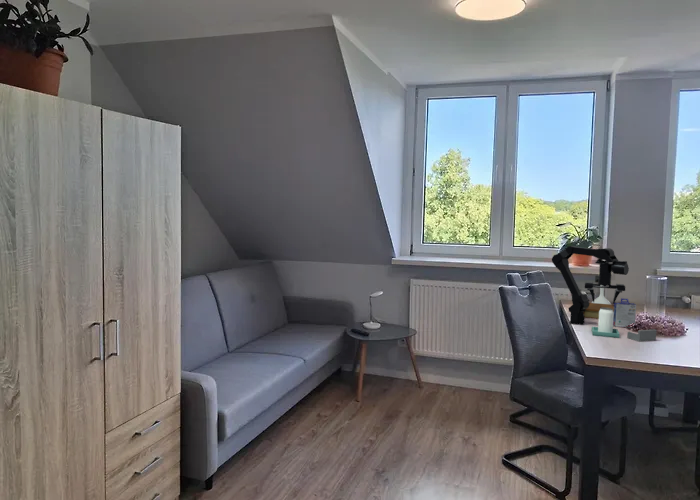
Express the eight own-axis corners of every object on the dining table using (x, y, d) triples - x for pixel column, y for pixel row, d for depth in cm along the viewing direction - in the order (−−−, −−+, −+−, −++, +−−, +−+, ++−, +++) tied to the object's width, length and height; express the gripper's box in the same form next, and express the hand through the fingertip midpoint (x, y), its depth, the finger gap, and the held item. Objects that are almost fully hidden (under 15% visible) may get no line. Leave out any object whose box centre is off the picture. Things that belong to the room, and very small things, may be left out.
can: (611, 331, 266) (612, 307, 265) (613, 334, 260) (614, 310, 259) (597, 330, 268) (598, 306, 267) (598, 333, 262) (600, 309, 261)
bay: (627, 337, 257) (627, 327, 256) (643, 336, 260) (644, 326, 259) (639, 341, 250) (639, 331, 250) (655, 340, 253) (656, 329, 253)
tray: (592, 335, 260) (592, 331, 260) (591, 330, 271) (591, 326, 271) (619, 338, 256) (619, 334, 256) (617, 332, 267) (617, 329, 266)
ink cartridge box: (632, 325, 284) (634, 298, 283) (635, 328, 279) (637, 300, 278) (612, 324, 286) (613, 297, 285) (615, 326, 281) (616, 299, 280)
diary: (582, 311, 325) (582, 302, 324) (616, 314, 317) (617, 305, 317) (582, 318, 304) (582, 308, 303) (619, 321, 296) (619, 311, 296)
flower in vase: (587, 304, 345) (589, 266, 343) (602, 304, 348) (605, 265, 346) (601, 308, 332) (603, 268, 330) (617, 308, 335) (619, 268, 333)
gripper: (624, 272, 279) (622, 302, 280) (584, 270, 286) (583, 299, 287) (626, 274, 269) (624, 305, 270) (585, 272, 276) (583, 302, 277)
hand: (603, 303), depth 276 cm, fingers open, 9 cm apart
